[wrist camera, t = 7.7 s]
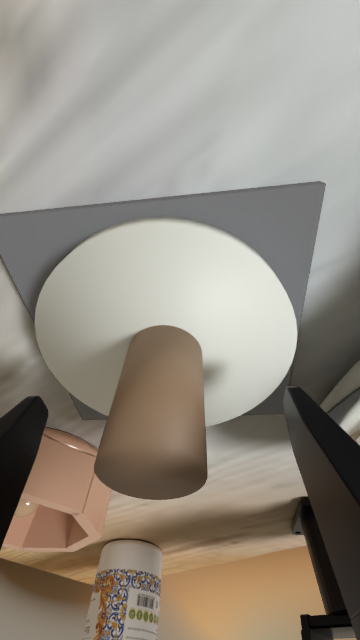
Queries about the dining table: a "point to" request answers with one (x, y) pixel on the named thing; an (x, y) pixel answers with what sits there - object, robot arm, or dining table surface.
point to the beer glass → (346, 403)
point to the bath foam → (126, 593)
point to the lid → (164, 344)
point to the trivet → (213, 208)
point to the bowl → (60, 498)
